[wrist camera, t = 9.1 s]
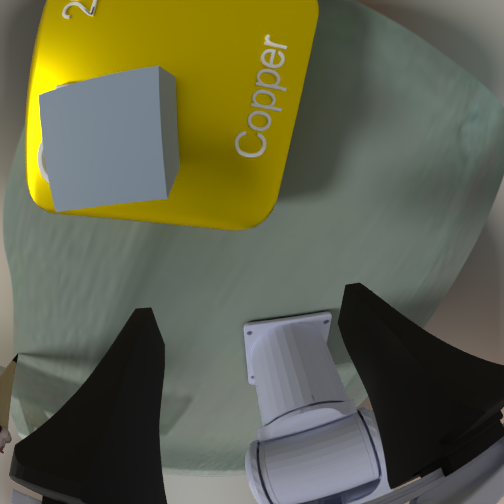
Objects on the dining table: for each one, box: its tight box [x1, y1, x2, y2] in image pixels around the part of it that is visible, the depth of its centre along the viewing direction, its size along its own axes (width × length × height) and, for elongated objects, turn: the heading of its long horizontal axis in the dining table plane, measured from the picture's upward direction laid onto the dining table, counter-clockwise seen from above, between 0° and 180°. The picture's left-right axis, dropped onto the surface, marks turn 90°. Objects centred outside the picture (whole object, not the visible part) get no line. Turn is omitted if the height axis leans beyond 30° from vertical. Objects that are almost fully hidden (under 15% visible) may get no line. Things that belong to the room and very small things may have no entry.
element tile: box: [25, 0, 319, 231], centre depth 13 cm, size 15×15×5 cm
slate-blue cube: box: [39, 66, 180, 212], centre depth 10 cm, size 4×4×4 cm
